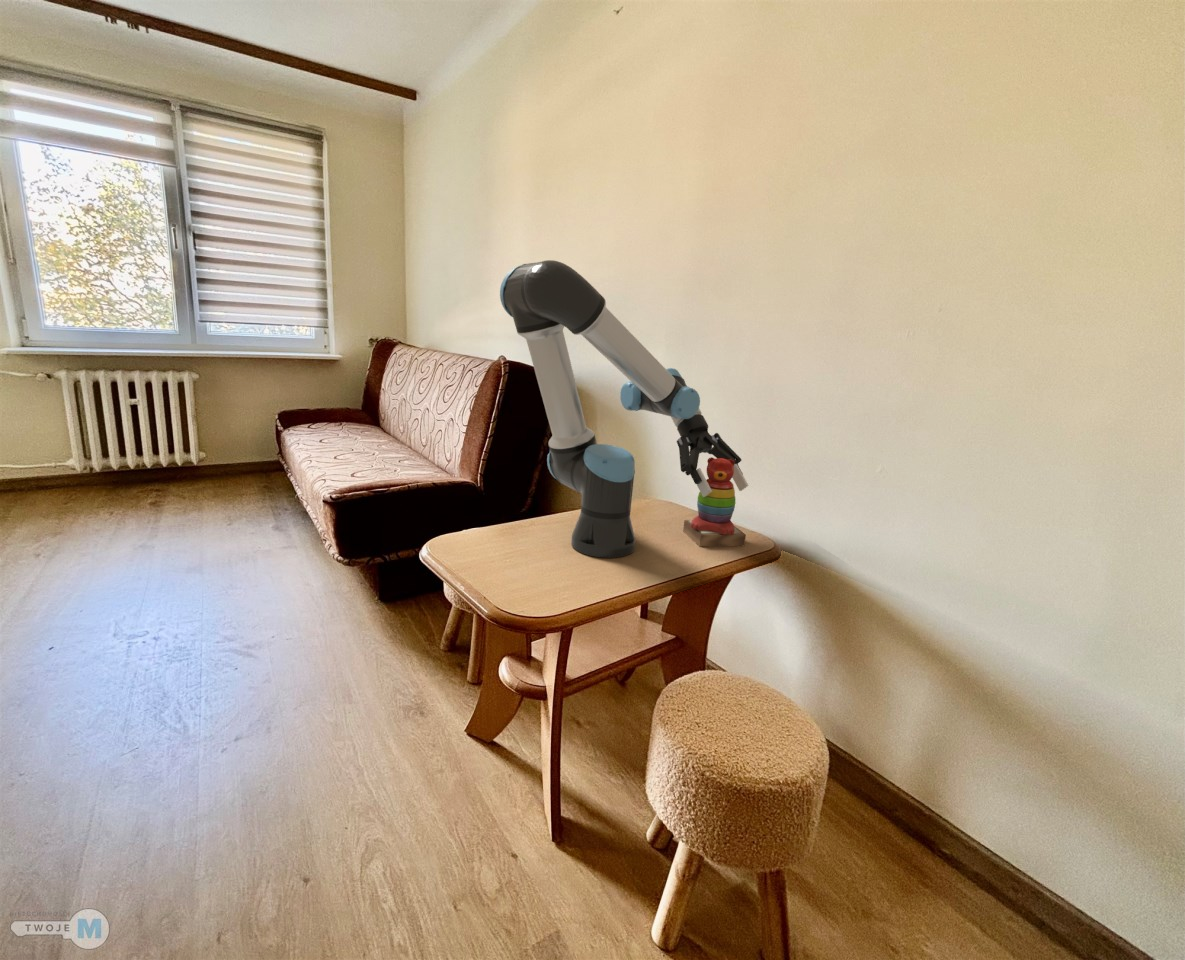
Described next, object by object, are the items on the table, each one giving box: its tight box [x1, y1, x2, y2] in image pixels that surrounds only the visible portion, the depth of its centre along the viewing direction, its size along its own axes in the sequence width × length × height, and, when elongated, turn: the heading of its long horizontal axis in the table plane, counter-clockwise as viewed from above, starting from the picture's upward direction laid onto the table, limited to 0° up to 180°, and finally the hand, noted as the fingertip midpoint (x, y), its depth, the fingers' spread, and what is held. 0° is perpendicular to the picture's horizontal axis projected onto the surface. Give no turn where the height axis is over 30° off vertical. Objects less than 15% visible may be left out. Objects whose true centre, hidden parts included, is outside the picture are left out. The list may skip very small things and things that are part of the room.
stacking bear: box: [691, 457, 736, 535], centre depth 137 cm, size 11×10×18 cm
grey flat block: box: [682, 519, 746, 548], centre depth 140 cm, size 12×11×3 cm
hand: (726, 491), depth 135 cm, fingers open, 13 cm apart
